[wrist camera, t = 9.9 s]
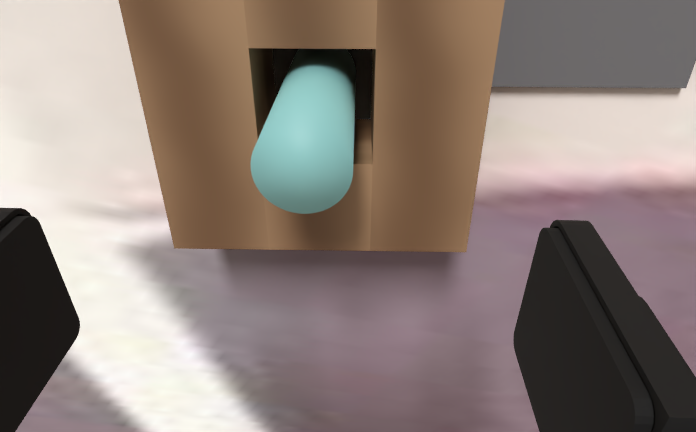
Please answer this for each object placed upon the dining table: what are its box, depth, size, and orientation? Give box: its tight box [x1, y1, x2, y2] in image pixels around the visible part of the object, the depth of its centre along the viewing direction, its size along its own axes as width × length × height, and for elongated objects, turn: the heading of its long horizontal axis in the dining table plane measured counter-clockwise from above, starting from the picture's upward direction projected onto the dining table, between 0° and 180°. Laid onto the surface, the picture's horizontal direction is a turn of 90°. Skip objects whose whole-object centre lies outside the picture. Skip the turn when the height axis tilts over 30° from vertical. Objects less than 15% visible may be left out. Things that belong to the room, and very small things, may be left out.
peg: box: [251, 49, 356, 214], centre depth 19 cm, size 3×3×10 cm
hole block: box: [119, 0, 505, 252], centre depth 21 cm, size 13×13×5 cm
